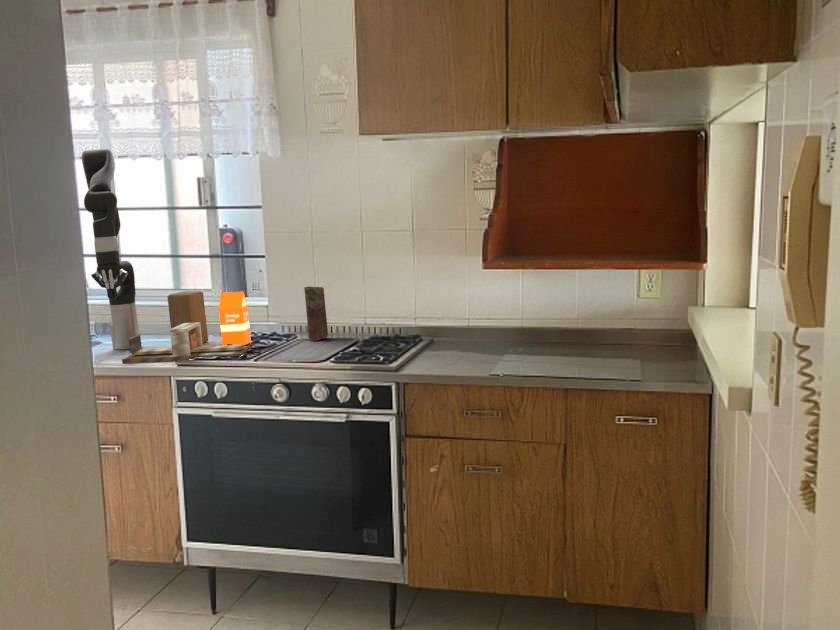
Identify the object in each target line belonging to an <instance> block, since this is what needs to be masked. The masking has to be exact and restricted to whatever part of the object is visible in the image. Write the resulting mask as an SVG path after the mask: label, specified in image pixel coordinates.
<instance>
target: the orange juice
mask: <svg viewBox="0 0 840 630" xmlns="http://www.w3.org/2000/svg"><path fill="white" fill-rule="evenodd" d="M219 294H220V295H219V306H218V313H219V314H218V315H219V316H218V317H219V324H220V325H219V326H220V327H221V333H220V336H221V335H222V337H221V343H222V344H221V345H227V344H247V343H248V342H249V341H251V342H252V339H251V337H252V336H251V328H250V327H251V325H250V316H249V307H248V306H249V305H248V302H247V299H246V296H245V293H244V291H229V292H220V293H219Z"/></svg>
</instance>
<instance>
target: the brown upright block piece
mask: <svg viewBox="0 0 840 630" xmlns="http://www.w3.org/2000/svg"><path fill="white" fill-rule="evenodd" d="M303 288H304V289H303V291H304V298H305V311H306V324H307V325H306V326H307V336H308V340H309V342H315V341H319V340H324V339H327V338H328V336H329V330H328V318H327V310H326V297H325V288H324V287H323V286H304V287H303Z"/></svg>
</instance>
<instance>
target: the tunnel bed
mask: <svg viewBox="0 0 840 630" xmlns="http://www.w3.org/2000/svg"><path fill="white" fill-rule="evenodd" d="M188 333H196V340H197V346H204V343H203V344H202V335H201V325H200V322H196V323H183V324H181V325H179V326H177V327H174V328H172V329H171V328H169V335H170V342H171V343H170V344H171V348H172V353H164V354H143V355H132V354H130V355H128V356H126V357H124V358H122V359H121V362H122V365H123V364H139V363H140V364H141V363H143V364H144V363H163V362H164V363H166V362H167V363H169V362H182V361H181V360H189V359H193V358H195V357H212V356H241V355H242V354H243V353H245V352H246V351H248V350H249V349H251V348H253V345H248V346H244V348H242V349H241V350H228V351H206V352H190V343H189V334H188ZM189 361H190V360H189Z"/></svg>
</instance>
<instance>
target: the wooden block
mask: <svg viewBox="0 0 840 630" xmlns="http://www.w3.org/2000/svg"><path fill="white" fill-rule="evenodd" d="M167 304H168V313H169V324H170V329H172V328H174V327H177V326H179V325H181V324H183V323H196V322H200V325H201V335H202V344H203V345H204V344H205V343H208V342H209V335H208V334H209V333H208V327H207V318H206V308H205V297H204V293H203V291H201V290H198V291H197V290H194V291H193V290H192V291H187V290H186V291H180V292H175V293H172V294H169V295H167Z"/></svg>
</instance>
